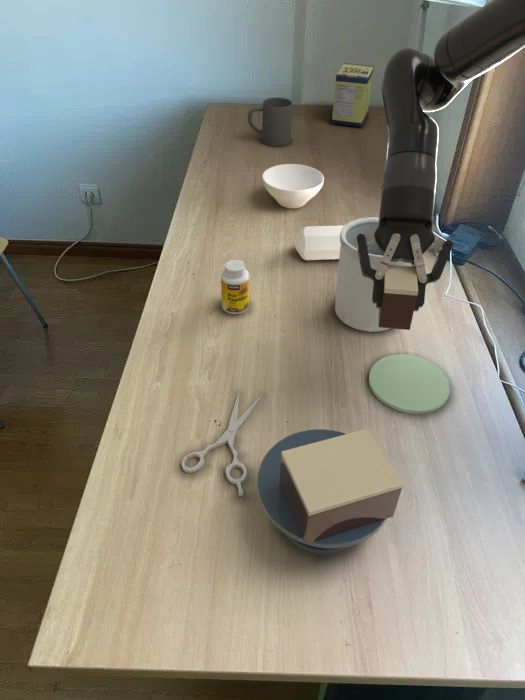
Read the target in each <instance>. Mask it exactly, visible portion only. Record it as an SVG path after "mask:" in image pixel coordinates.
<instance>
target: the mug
mask: <svg viewBox="0 0 525 700" xmlns="http://www.w3.org/2000/svg"><path fill="white" fill-rule="evenodd" d="M254 112H262V119H261V122H262V123H261V126H262V128H261V129H259V128H258V127H257V126H256V125H255V124H254V123H253V119H252V118H253V113H254ZM292 119H293V101H292V100H290V99H288V98H284V97H269V98H266V99H264V100H263V101H262V107H253V108H251V109H249V110H248V114H247V121H248V125H249V127H250V128H251V129H252V130H253V131H254V132H255V133H257V134H260V135H261V136H262V143H264V144H265V145H267V146H271V147H284V146H287V145H289V144H290V142H291V139H292V138H291V137H292V123H293V121H292Z"/></svg>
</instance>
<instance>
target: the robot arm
mask: <svg viewBox="0 0 525 700" xmlns="http://www.w3.org/2000/svg"><path fill="white" fill-rule="evenodd" d="M524 49H525V0H491V1H489V2H488V3H486V4H485V5H483V6H481V7H480V8H479V9H477V10H476V11H474V12H472V13H471V14H470V15H468V16H467V17H465V18H464V19H462V20H461V21H460V22H458V23H456V24H455V25H454V26H453V27H451V28H450V29H448V30H447V31H446V32H444V33H443V34H442V35H441V36H440V38H439V39H438V40H437V41H436V44H435V47H434V52H433V56H432V55H430V54H428V53H424V52H423V51H421V50H419V49H416V48H413V47H403V48H400V49H398V50H397V51H395V52H394V53H393V54H392V55H391V57H390V58H389V59H388V61H387V62H386V63H385V64H386V65H385V67H384V68H383V73H382V77H381V78H382V79H381V95H382V96H381V97H382V102H383V107H384V114H385V119H386V125H387V130H388V141H387V151H386V162H385V167H384V170H383V175H382V176H383V177H382V183H381V188H380V189H381V194H380V195H381V196H380V205H379V217H378V218H379V225H378V228H377V229H376V231H375V233H373V234H368V235H364V234H358V236H357V239H356V245H357V250H358V255H359V261H360V266H361V271H362V275H363V276H364V277H368V278H370V279H371V280H372V281H373V294H372V302H373V303H374V304H376V308H381V307H382V298H383V288H384V281H383V277H384V274H385V272H386V270H387V268H388V265H389V263H390V262H398V261H403V262H405V263H411V266H413V267H414V269H416V273H417V282H418V295H417V299H416V304H415V308H414V312H418V311H419V310H420V309H421V308H422V307H423V306H424V304H425V299H426V289H427V288H426V287H427V285H428V284H432V283H433V284H434V283H437V281H438V280H440V279H441V276H442V274H443V272H444V269H445V267H446V264H447V261H448V259H449V256H450V255H451V253H452V252H451V251H452V249H453V246H454V242H453V241H452V240H451V239H447V240H444V239H440V238H438V237H436V236H435V233H434V230H433V221H434V210H435V198H436V187H437V176H438V175H437V158H438V146H439V133H440V132H439V131H440V130H439V126H438V123H437V122H436V121H435V120H434V119H433V118H432V117H431V116H429V115H428V114H427V113H431V112H432V113H433V112H436V111H439V110H442V109H444V108H446V107H447V106H448V105H449V104H450V103H451V102H452V101H453V100H454V99H455V98H456V97H457V95H459V93H461V91H463V90H464V88H465V87H467V85H468V84H469V83H470V82H471V81H472V80H474V79H476V78H478V77H480V76H481V75H483V74H485V73H486V72H488V71H490V70H492V69H495V67H498V66H499V65H501V64H503V63H504V62H506V61H507V60H509V59H511V58H513V57H514V56H515V55H517V54H518V53H520V52H521V51H523V50H524ZM373 241H375V242H376V243H377V245H378V246H379V248H380V250H381V251H382V253H383V255H384V256H383V258H382V260H381V262H380V265H379V267H378V269H377V270H375V269H372V268H371V265H370V259H369V254H368V250H369V249H370V248H371V246H372V242H373ZM431 246H433V248H434V250H433V253H434V254H435V255H436V256H437V257H436V259H435V260H434V261H435V262H434V264H433V266H432V269H431V272H429V273H427V270H426V267H425V265H426V263H425V259H424V256H423V255H424V254H425V253H426V252H427V250H428V249H429V248H430V247H431Z"/></svg>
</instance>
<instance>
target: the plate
mask: <svg viewBox="0 0 525 700" xmlns="http://www.w3.org/2000/svg"><path fill="white" fill-rule="evenodd" d="M450 384H451V383H450V380H449V379H448V377H447V375H446V373H444V371H443V370H442V369H441V368H440V367H439V366H437V365H436V364H434V363H433V362H432V361H430V360H427V359H426V358H424V357H423V358H422V357H420V356H417V355H413V354H404V353H400V354H399V353H398V354H396V353H395V354H391V355H387V356H384V357H382V358H380V359H378V360H377V361H376V362H374V363H373V364H372V365H371V368H370V370H369V373H368V386H369V388H370V390H371V392H372V393H373V395H374V397H375V398H377V400H378V401H380V402H381V403H382V404H383V405H386V406H387V407H388V408H390V409H392V410H395V411H398V412H402V413H405V414H415V415H419V414H420V415H421V414H427V413H431V412H434V411H436V410H438V409H440V408H441V407H442V406H443V405H444V404H445V403H446V402H447V401H448V398H449V395H450V391H451V386H450Z"/></svg>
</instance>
